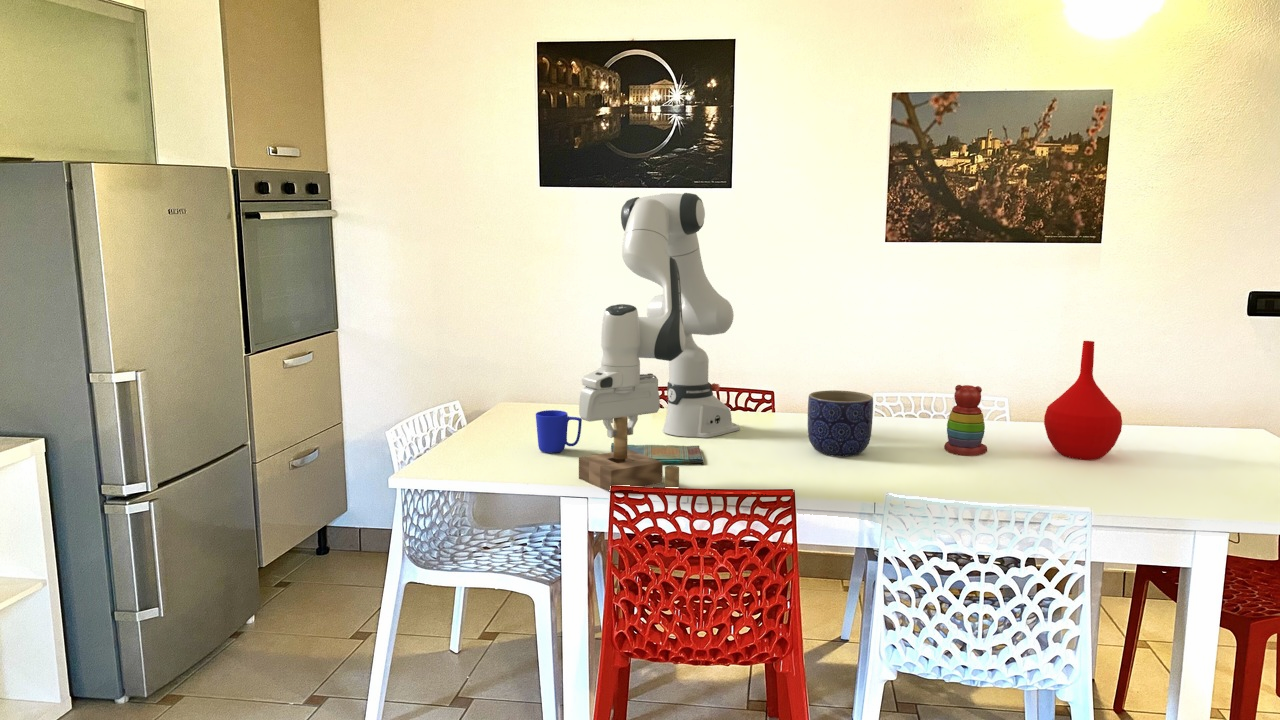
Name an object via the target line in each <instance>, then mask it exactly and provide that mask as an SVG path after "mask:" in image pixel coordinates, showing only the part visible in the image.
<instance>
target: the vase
mask: <svg viewBox="0 0 1280 720" xmlns="http://www.w3.org/2000/svg"><path fill="white" fill-rule="evenodd" d="M1094 356H1095V341H1093V340H1083V341H1082V349H1081V359H1080V368H1079V369H1080V370H1079V375H1078V378H1077V379H1076V381H1075V382H1074V383H1073V384H1072V385H1071V386H1070V387H1068V388H1067V390H1065V391H1064V392H1063V393H1062V394H1061V395H1060V396H1059V397H1057V398H1056V399H1055V400H1053V401H1052V402H1051V403H1050V404H1048V405H1047V407H1046V411H1045V414H1044V416H1043V417H1044V418H1043V419H1044V420H1043V423H1044V429H1045V432H1046V436H1047V439H1048V441H1049V442H1050V445H1052V447H1053V448H1054V450H1055V451H1056V452H1057V453H1058V454H1059V455H1060V456H1063V457H1065V458H1069V459H1072V460H1073V459H1074V460H1081V461H1092V460H1100V459H1102V458H1103V457H1105V456H1106V455H1107V454H1109V453H1110V451H1111V450H1112V449H1113V448H1114V446H1116V443H1117V441H1118V438H1119V437H1120V435H1121V433H1122V429H1123V419H1122V413H1121V411H1120V410H1119V409H1118V408H1117V407H1116V406H1115V405H1114V404H1113V403H1112V401H1111V400H1110V399H1109V398H1108V397H1107V396H1106V395H1105V393H1104V392H1103V390H1102V389H1101V388H1100V387H1099V385H1098V384H1097V383H1096V381H1095V379H1094V363H1095V362H1094V361H1095V360H1094V359H1095V357H1094Z"/></svg>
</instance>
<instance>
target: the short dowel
mask: <svg viewBox="0 0 1280 720" xmlns="http://www.w3.org/2000/svg"><path fill="white" fill-rule="evenodd" d="M665 487H679V488H680V466H678V465H666V466H664V488H665Z"/></svg>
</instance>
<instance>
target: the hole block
mask: <svg viewBox="0 0 1280 720" xmlns="http://www.w3.org/2000/svg"><path fill="white" fill-rule="evenodd" d="M663 467H664V465H663V462H661V461H659V460H656V459H653V458H650V457H648V456H645V455H642V454H640V453H637V452H634V451H631V450H627V458H626V459H615V458H614V452H611V451H610V452H606V453H599V454H598V453H597V454H592V455H586V456H579V457H578V479H579V480H582V481H584V482H586V483H588V484H591V485H593V486H595V487H598V488H600V489H602V490H604V491H607V492H609V490H610V486H612V485H630V486H644V487H649V486H654V485H660V484H663V477H664V476H663V469H664V468H663Z"/></svg>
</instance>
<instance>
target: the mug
mask: <svg viewBox="0 0 1280 720" xmlns="http://www.w3.org/2000/svg"><path fill="white" fill-rule="evenodd" d="M571 420H573V421H578V428H577V435H576V439H575V441H574V442H572V443H569V442H568V427H569V426H568V425H569V421H571ZM582 420H583V419H582V418H581V417H578V416H577V417H576V416H569V415H568V412H566V411H564V410H558V409H557V410H556V409H554V410H553V409H551V410H548V409H546V410H540V411H537V412H536V413H535V423H536V433H537V434H536V435H537V447H538V450H539V451H540V452H541V453H545V454H557V453H560V452H563V451H564V450H565V448H566V446H568V447H575V446H576V445H577V444H578V443H579V441H580V437H581V432H582V422H583V421H582Z"/></svg>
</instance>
